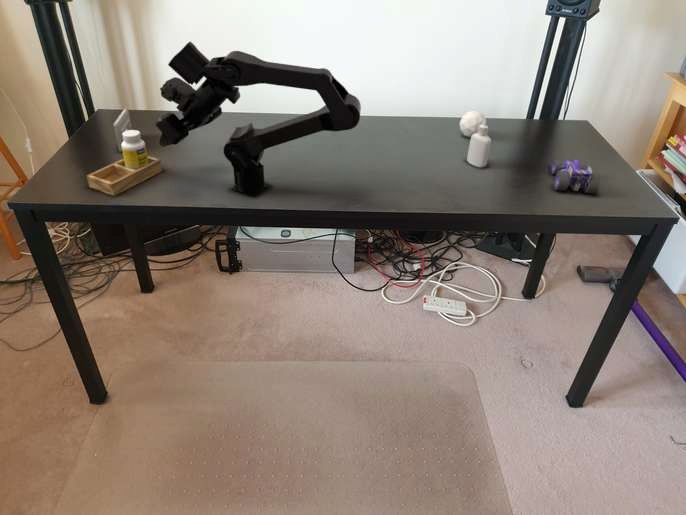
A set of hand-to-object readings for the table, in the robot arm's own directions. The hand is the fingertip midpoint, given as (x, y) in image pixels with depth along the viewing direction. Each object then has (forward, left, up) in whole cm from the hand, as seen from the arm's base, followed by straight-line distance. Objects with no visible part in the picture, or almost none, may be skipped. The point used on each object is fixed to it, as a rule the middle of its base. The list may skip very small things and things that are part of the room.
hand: (172, 137), depth 124 cm
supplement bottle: (+9, +4, -10) cm, 14 cm away
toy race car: (-85, -52, -10) cm, 100 cm away
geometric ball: (-54, -67, -10) cm, 87 cm away
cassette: (+26, -8, -10) cm, 28 cm away
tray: (+10, +7, -10) cm, 16 cm away
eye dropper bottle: (-61, -49, -10) cm, 79 cm away
